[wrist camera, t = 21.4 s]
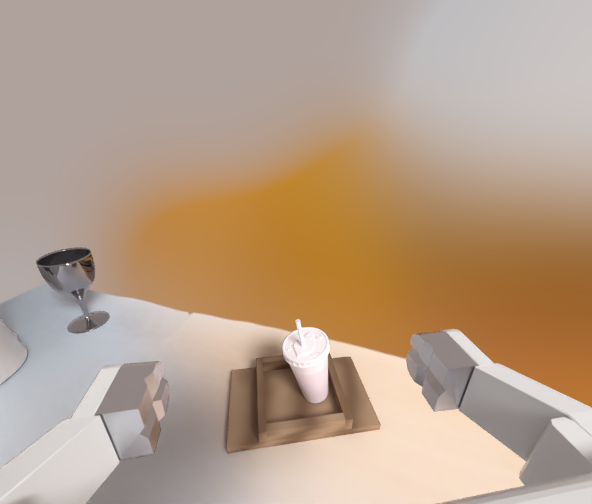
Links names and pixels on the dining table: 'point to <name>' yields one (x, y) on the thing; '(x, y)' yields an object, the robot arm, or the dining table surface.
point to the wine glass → (73, 283)
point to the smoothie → (308, 360)
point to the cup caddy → (294, 405)
